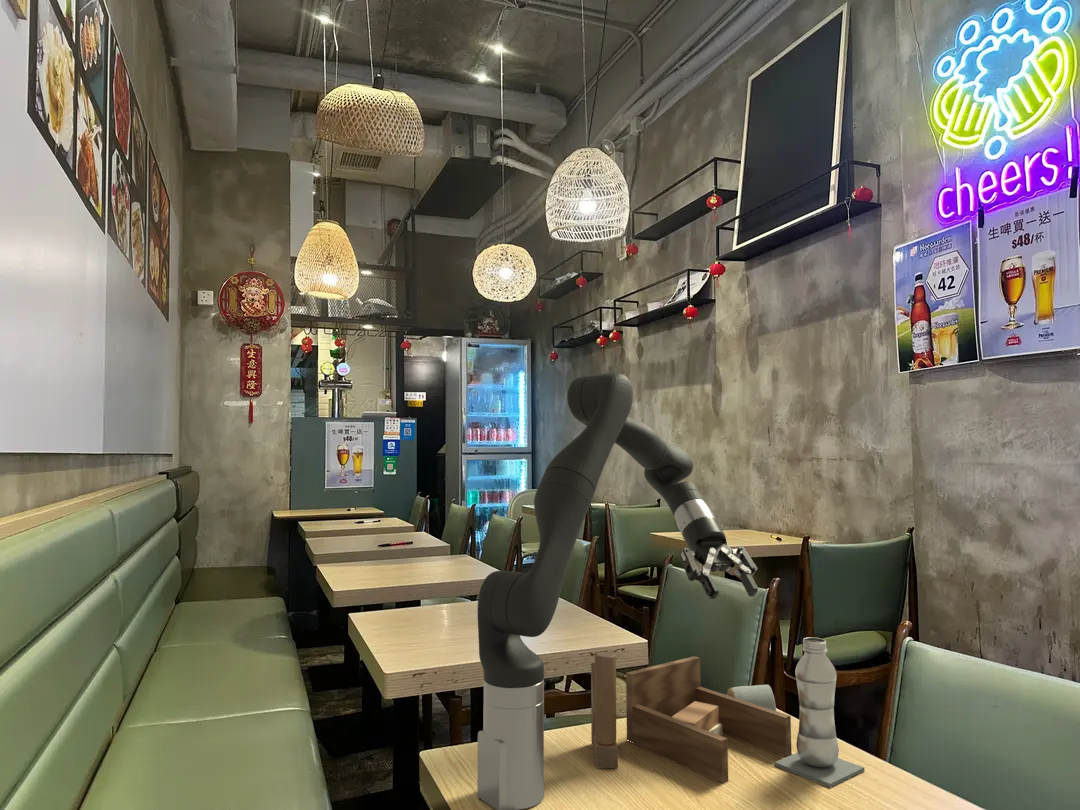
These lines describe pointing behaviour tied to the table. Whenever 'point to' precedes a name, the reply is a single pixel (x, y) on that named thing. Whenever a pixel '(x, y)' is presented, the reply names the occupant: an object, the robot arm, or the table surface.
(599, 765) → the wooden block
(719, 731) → the tan rectangular block
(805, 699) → the silver bottle
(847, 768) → the slate mat
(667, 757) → the walnut rack
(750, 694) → the ceramic mug
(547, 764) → the table surface
